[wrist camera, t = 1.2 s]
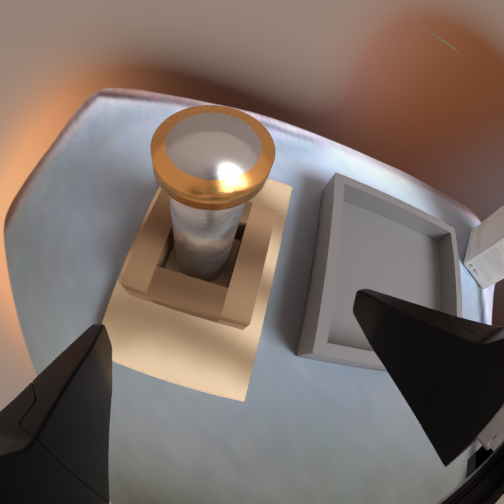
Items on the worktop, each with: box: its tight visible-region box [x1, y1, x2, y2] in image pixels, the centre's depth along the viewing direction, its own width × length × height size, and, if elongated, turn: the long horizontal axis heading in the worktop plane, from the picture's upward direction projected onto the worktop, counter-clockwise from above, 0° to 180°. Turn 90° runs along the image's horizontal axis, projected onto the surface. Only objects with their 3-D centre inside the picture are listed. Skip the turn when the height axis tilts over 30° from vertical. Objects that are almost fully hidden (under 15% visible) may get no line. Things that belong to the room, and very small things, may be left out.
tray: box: [296, 173, 462, 371], centre depth 25 cm, size 17×17×4 cm
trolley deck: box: [102, 179, 292, 401], centre depth 22 cm, size 20×12×4 cm, turn 167°
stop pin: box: [151, 105, 275, 282], centre depth 17 cm, size 5×5×13 cm
